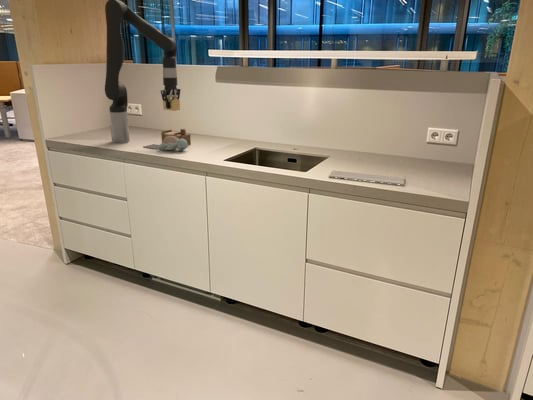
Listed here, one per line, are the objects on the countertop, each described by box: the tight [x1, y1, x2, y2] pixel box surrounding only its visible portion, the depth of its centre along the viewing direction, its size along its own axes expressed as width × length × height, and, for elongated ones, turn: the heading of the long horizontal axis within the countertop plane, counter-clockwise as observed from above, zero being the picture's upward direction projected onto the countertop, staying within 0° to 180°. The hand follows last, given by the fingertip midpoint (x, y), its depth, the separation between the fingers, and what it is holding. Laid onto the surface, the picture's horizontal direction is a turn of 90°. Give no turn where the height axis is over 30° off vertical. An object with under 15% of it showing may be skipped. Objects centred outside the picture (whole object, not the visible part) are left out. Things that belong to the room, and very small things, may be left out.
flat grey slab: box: [328, 170, 406, 185], centre depth 175 cm, size 31×3×12 cm
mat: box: [143, 143, 161, 150], centre depth 226 cm, size 10×8×1 cm
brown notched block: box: [161, 128, 192, 146], centre depth 233 cm, size 15×8×9 cm, turn 60°
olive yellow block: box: [162, 97, 181, 111], centre depth 228 cm, size 8×5×7 cm, turn 60°
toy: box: [158, 136, 189, 152], centre depth 218 cm, size 12×10×15 cm
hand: (171, 108), depth 229 cm, fingers closed on olive yellow block, 4 cm apart
